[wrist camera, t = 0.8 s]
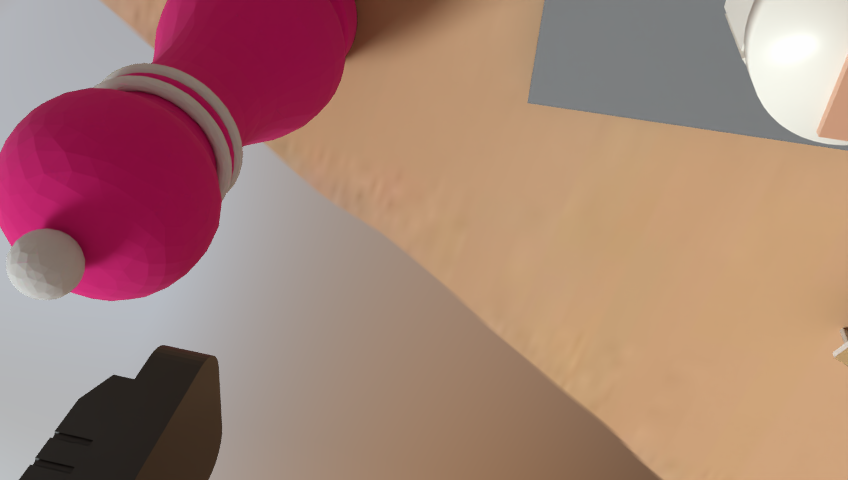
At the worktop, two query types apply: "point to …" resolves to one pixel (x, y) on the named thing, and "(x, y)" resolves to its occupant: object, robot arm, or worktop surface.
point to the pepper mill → (162, 144)
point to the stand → (650, 66)
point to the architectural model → (842, 348)
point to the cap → (797, 62)
